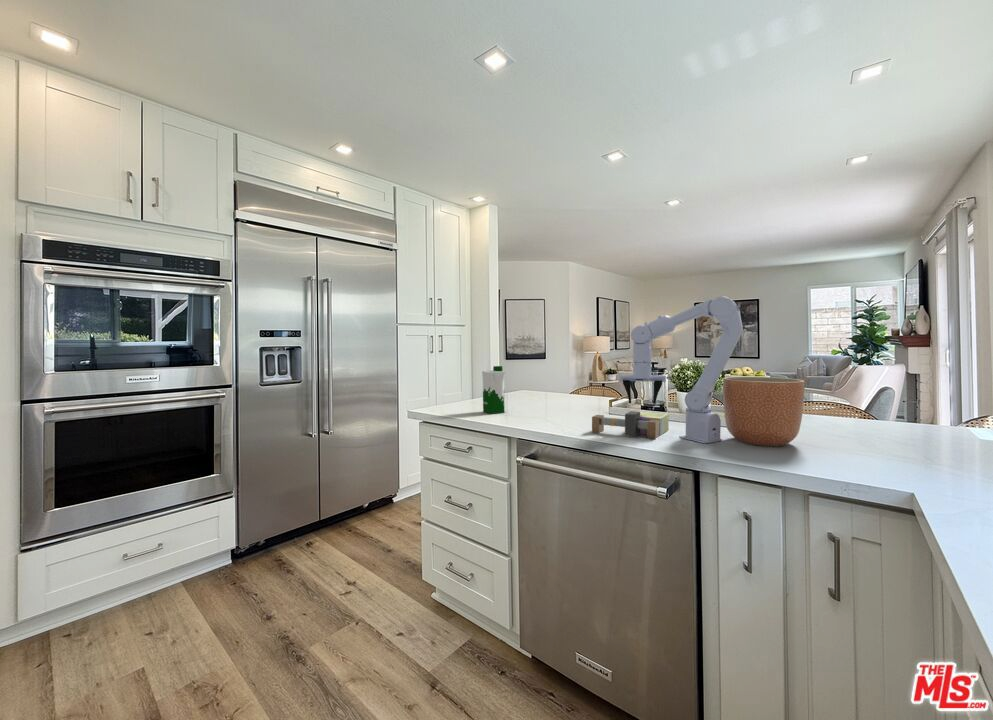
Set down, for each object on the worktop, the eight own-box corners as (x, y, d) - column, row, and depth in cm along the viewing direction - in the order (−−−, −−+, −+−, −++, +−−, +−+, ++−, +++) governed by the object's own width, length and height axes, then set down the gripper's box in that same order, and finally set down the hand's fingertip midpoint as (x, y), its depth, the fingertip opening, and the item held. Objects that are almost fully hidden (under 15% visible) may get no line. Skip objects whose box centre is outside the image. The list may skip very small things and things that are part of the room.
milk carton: (507, 413, 187) (507, 366, 187) (488, 414, 184) (487, 367, 183) (498, 410, 195) (498, 365, 195) (480, 411, 192) (479, 366, 191)
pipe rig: (658, 436, 139) (658, 420, 139) (655, 439, 135) (655, 422, 135) (596, 430, 150) (597, 414, 150) (591, 432, 146) (592, 416, 145)
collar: (640, 433, 143) (640, 411, 143) (634, 436, 137) (634, 414, 137) (630, 432, 145) (630, 411, 144) (624, 435, 139) (625, 414, 139)
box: (638, 427, 155) (628, 432, 146) (638, 411, 155) (628, 415, 145) (668, 430, 149) (660, 436, 140) (669, 413, 149) (660, 418, 140)
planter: (706, 437, 137) (707, 377, 136) (754, 432, 144) (755, 375, 143) (768, 453, 117) (770, 383, 117) (820, 446, 125) (822, 380, 124)
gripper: (664, 362, 146) (664, 402, 147) (619, 361, 150) (619, 401, 151) (666, 362, 139) (666, 405, 140) (619, 362, 143) (619, 403, 144)
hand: (642, 403), depth 145 cm, fingers open, 7 cm apart
